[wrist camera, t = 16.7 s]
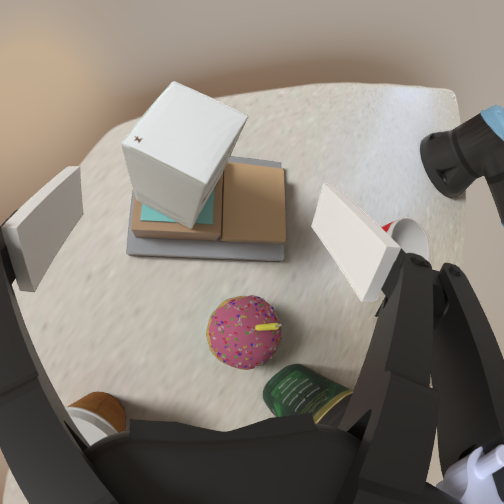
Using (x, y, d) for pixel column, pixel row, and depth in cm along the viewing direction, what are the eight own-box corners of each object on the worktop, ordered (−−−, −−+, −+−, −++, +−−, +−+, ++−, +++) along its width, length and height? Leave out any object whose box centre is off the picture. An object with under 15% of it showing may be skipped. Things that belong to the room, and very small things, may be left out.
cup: (379, 229, 45) (421, 214, 36) (390, 277, 45) (434, 270, 35) (341, 236, 43) (383, 220, 34) (353, 288, 42) (398, 284, 33)
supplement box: (192, 231, 31) (205, 188, 19) (134, 200, 30) (116, 142, 18) (222, 177, 33) (251, 115, 21) (168, 149, 32) (172, 77, 20)
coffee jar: (250, 391, 36) (314, 453, 18) (295, 354, 38) (383, 384, 20) (290, 433, 36) (363, 497, 18) (330, 398, 38) (418, 439, 21)
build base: (277, 166, 42) (292, 148, 36) (280, 261, 40) (297, 254, 34) (139, 154, 37) (136, 132, 31) (128, 255, 34) (120, 246, 29)
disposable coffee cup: (107, 454, 29) (90, 501, 17) (58, 403, 28) (22, 437, 17) (152, 419, 32) (147, 465, 20) (101, 366, 31) (72, 393, 20)
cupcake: (236, 282, 38) (265, 274, 26) (280, 327, 38) (325, 336, 27) (189, 330, 35) (197, 344, 24) (236, 374, 36) (265, 403, 24)
